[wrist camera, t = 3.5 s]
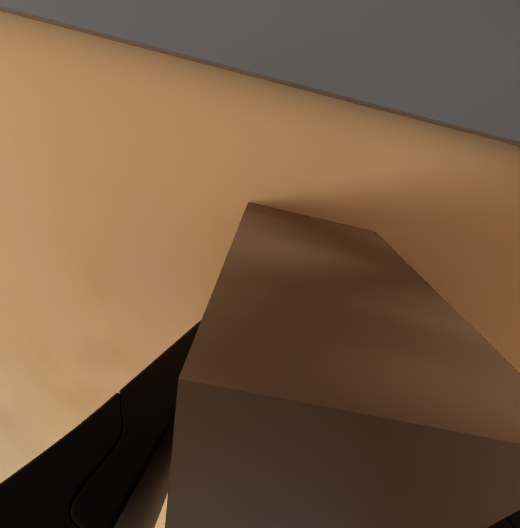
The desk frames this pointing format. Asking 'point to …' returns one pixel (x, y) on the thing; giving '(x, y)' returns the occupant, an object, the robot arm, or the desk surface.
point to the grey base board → (335, 48)
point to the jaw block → (338, 393)
